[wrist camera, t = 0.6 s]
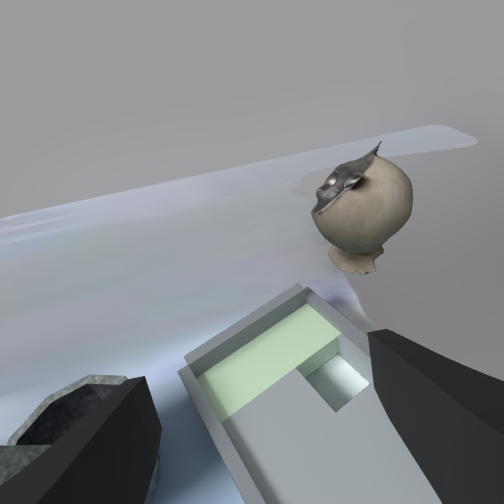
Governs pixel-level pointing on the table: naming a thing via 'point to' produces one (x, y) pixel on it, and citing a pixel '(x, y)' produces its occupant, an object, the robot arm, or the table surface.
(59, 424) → the mortar and pestle
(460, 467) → the robot arm
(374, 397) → the trap lane
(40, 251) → the table surface
